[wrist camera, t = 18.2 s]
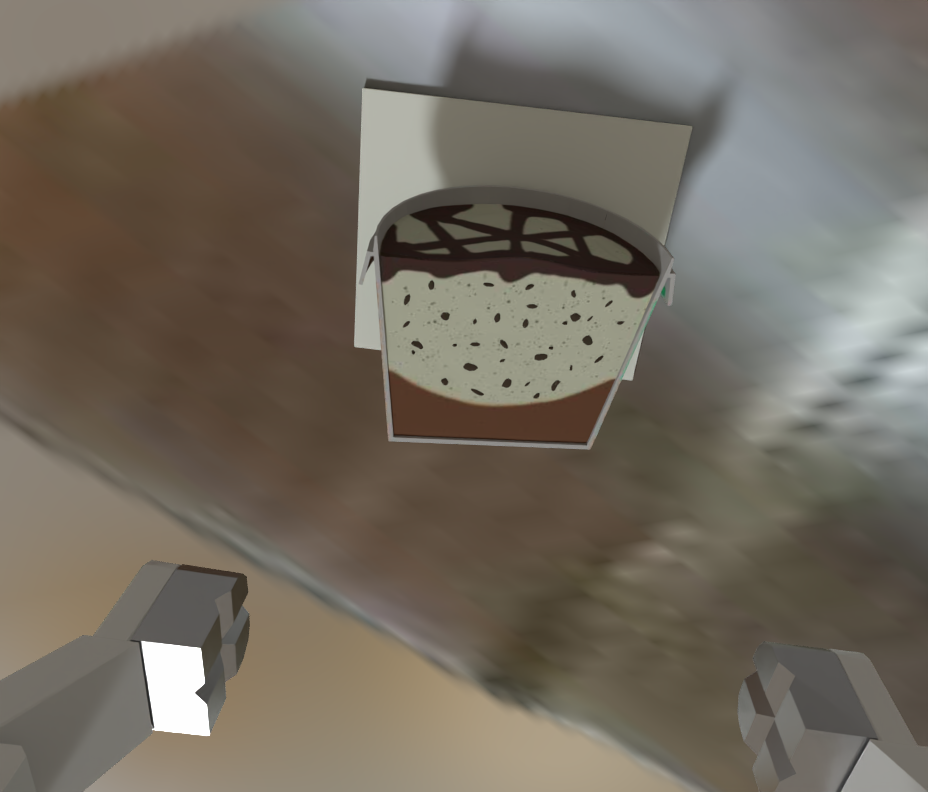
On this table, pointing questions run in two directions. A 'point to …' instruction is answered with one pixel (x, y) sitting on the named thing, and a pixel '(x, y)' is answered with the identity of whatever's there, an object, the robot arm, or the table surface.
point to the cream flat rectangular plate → (507, 166)
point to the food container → (509, 314)
